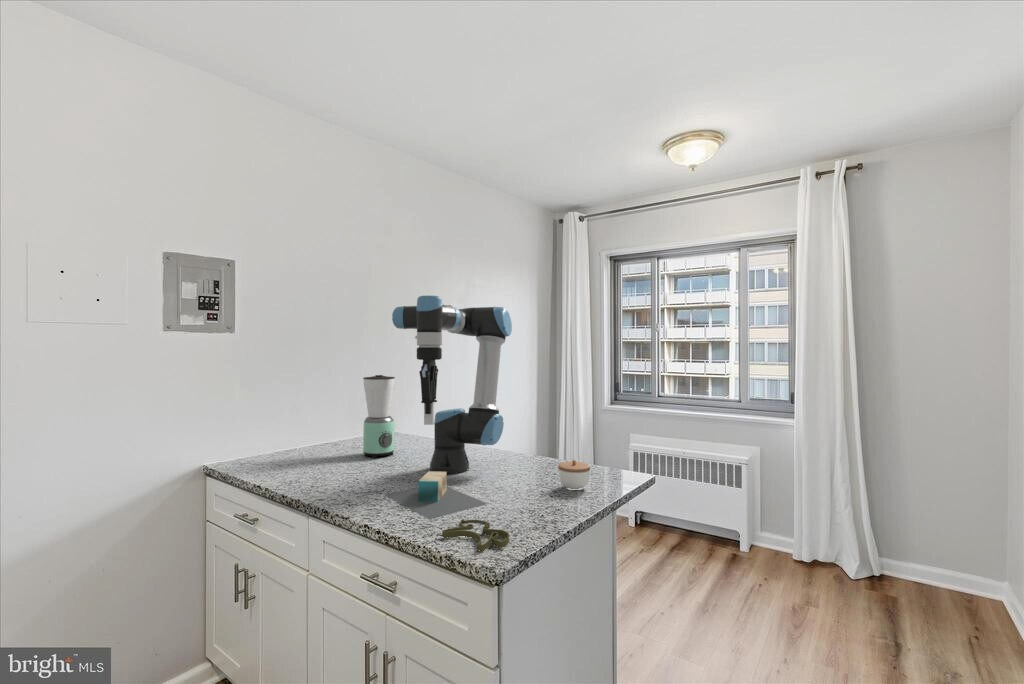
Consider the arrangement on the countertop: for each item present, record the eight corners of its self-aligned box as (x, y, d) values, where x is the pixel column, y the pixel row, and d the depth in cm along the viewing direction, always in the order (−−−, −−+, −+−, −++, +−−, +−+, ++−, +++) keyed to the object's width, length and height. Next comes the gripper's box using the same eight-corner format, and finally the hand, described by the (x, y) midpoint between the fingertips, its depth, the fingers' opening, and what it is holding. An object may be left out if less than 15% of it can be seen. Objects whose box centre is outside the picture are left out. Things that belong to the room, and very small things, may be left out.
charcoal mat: (439, 486, 165) (439, 483, 165) (488, 507, 144) (488, 503, 144) (384, 497, 152) (384, 494, 152) (429, 522, 131) (429, 519, 131)
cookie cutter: (436, 536, 122) (436, 529, 122) (469, 523, 131) (469, 516, 131) (488, 556, 111) (488, 548, 111) (521, 541, 120) (521, 532, 120)
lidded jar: (593, 486, 166) (593, 458, 166) (585, 494, 156) (585, 465, 156) (564, 482, 170) (564, 455, 170) (553, 490, 160) (553, 462, 160)
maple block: (418, 501, 146) (428, 489, 158) (437, 501, 145) (446, 490, 157) (418, 481, 146) (428, 471, 158) (437, 481, 145) (446, 471, 157)
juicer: (402, 455, 210) (402, 375, 211) (374, 460, 201) (374, 376, 201) (380, 449, 224) (380, 373, 224) (353, 453, 215) (353, 374, 215)
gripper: (423, 346, 154) (422, 420, 154) (410, 346, 141) (410, 427, 141) (446, 346, 153) (446, 421, 153) (436, 346, 140) (435, 428, 140)
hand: (429, 424), depth 147 cm, fingers closed
